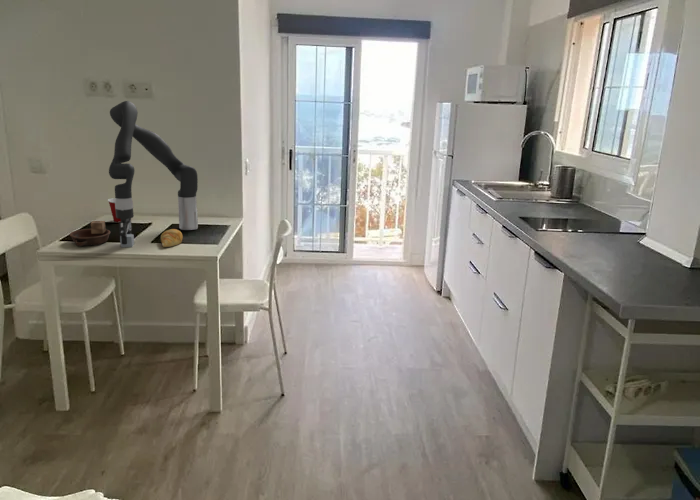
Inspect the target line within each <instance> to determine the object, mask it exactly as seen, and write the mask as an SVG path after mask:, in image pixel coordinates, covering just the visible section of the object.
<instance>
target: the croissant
mask: <svg viewBox="0 0 700 500" xmlns="http://www.w3.org/2000/svg"><path fill="white" fill-rule="evenodd" d="M183 237H184V236H183V233H182V232H181V230H179V229H177V228H171V229H167V230H165V231H163V232H162V233H161V235H160V242H161V244H162V247H163V248H168V247H169V248H170V247H174V246H177V245H180V244H182V242H183Z"/></svg>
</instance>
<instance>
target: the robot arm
mask: <svg viewBox="0 0 700 500" xmlns="http://www.w3.org/2000/svg"><path fill="white" fill-rule="evenodd" d="M137 108H138V107H136V104H134V102H132V101H130V100H124V101H122V102H120V103H118V104H116V105H114V106H113V107H111V108H110V110H109V116H110V117H111V119H112V121H113V122H114V123H115V124H116V125H117V126H118V127H119V128H120V130H119V132H118V134H117V136H116V139H115V142H114V151H113V152H114V153H113V158H112V161H111V163H110V165H109V168H108V175H109V177H110V178H111V179H113V180H125V182H123V183H118V184H116V185H114V198H115V210H116V218H118V219H121V222H118V230H119V237H120V236H121V240H122V244H127V234H132V229H133V226H132V219H133V218H134V203H133V198H132V195H133V194H132V188H133V187H132V185H133V179H134V175H135V168H134V166H133V164H131V163H128V162H130V160H131V157H132V143H133V138H134V140H135V141H137V142H138V143H139V144H140V145H141V146H142V147H143V148H144V150H146V151H147V152H148V153H149V154H151V155H152V156H153V158H155V160H157V161H158V162H160V163H161V164H163V166H164V167H165V168H167V170H168V171H169V172H170V173H171V174H172V175H173V177H174V178H175V179H176V181H177V180H178V182H179V184H180V185H179V186H180V188H179V190H178V191H177V201H178V202H177V207H178V208H177V209H178V226H179V229H180V231H181V230H182V231H193V230H198V228H199V224H198V223H199V222H198V220H199V219H198V207H197V206H198V205H197V192H198V186H199V185H198V182H199V180H198V172H197V170H196V168H194V167H193V166H191V165H187V164H185V163H184V162H183V161H181V160H180V159H179V158H178V157H177V156H176V155H175V154H174V153H173V150H172V149H171V147H170V146H169V144H168V143H167V142H166V141H165V140H164V139H163V137H161V136H160V135H159V134H157V133H156V132H154V131H151V130H149V129H146V128H144V127H141V126H140V125H138V124H137V120H138V113H139V112H138V109H137ZM179 229H178V230H179Z"/></svg>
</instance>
